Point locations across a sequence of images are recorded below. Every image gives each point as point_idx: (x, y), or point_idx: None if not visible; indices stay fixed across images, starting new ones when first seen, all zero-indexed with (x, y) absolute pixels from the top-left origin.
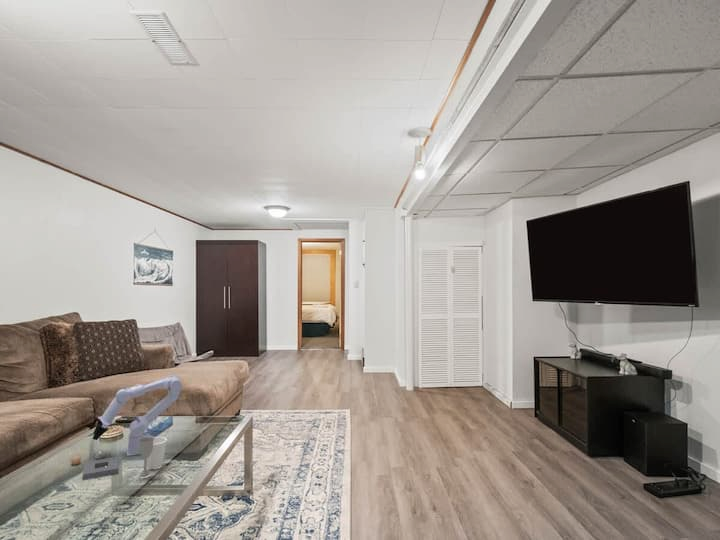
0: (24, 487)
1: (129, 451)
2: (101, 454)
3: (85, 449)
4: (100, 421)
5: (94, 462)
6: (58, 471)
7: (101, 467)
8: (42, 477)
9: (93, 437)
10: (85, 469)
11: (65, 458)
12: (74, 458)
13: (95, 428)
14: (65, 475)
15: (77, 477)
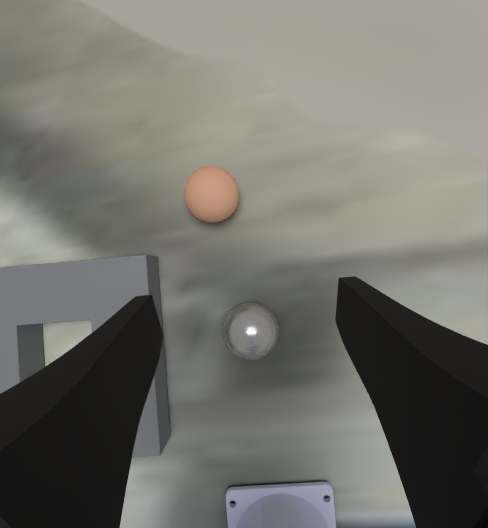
0: (10, 13)
1: (251, 515)
2: (226, 342)
3: (437, 217)
4: (468, 448)
5: (112, 313)
6: (146, 128)
7: (16, 365)
8: (98, 66)
9: (125, 308)
10: (23, 275)
11: (325, 127)
12: (190, 181)
13: (378, 306)
14: (79, 175)
15: (30, 240)
